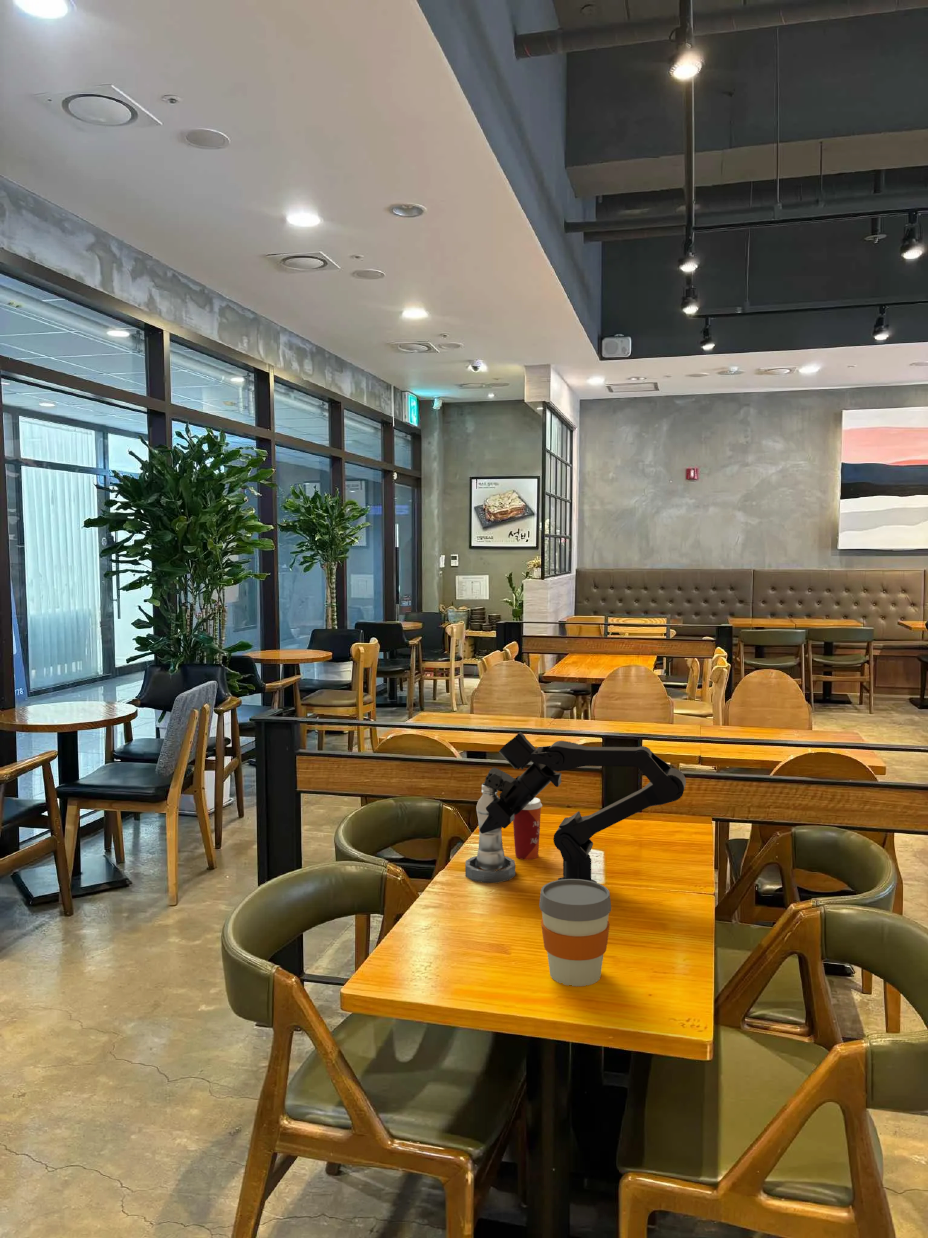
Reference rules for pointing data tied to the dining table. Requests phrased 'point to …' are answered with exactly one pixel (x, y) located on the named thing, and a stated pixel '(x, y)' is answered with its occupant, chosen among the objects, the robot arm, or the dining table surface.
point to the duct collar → (489, 871)
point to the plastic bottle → (489, 834)
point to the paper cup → (527, 830)
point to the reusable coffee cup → (575, 929)
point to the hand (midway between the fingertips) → (484, 827)
